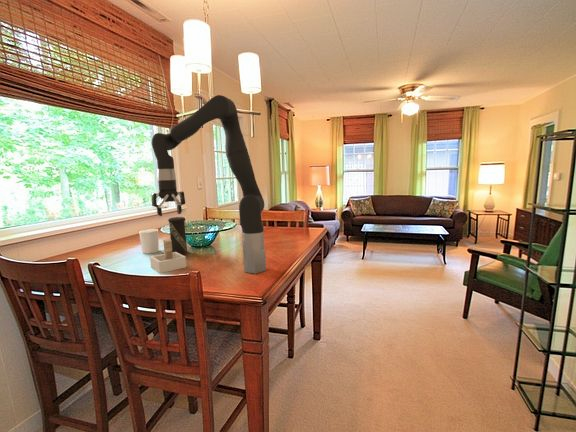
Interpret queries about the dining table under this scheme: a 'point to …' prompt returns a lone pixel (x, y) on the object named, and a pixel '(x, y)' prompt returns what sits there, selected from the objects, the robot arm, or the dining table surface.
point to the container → (178, 235)
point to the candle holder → (149, 240)
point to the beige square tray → (167, 262)
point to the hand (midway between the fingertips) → (170, 214)
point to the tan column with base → (168, 249)
